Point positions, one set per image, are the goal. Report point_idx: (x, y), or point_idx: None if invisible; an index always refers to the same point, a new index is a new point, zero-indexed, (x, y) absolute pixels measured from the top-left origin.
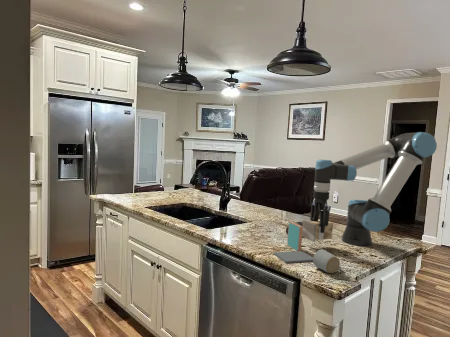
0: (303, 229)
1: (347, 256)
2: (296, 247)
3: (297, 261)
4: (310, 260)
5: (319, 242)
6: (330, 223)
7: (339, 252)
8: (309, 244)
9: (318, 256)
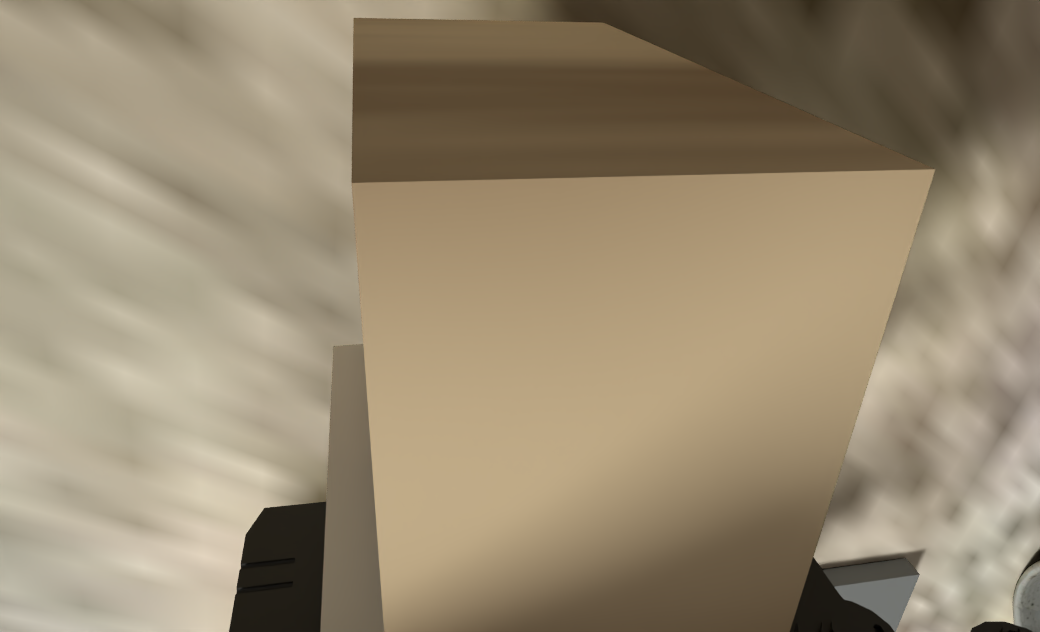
0: None
1: (1021, 13)
2: None
3: None
4: (894, 619)
5: (110, 14)
6: (865, 357)
7: (821, 13)
8: (278, 340)
9: None
